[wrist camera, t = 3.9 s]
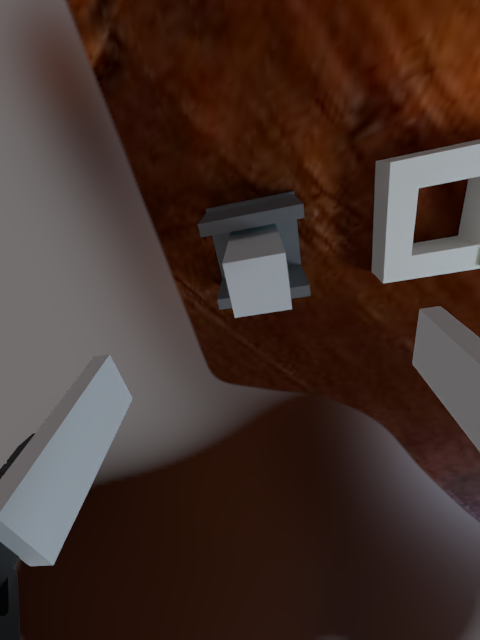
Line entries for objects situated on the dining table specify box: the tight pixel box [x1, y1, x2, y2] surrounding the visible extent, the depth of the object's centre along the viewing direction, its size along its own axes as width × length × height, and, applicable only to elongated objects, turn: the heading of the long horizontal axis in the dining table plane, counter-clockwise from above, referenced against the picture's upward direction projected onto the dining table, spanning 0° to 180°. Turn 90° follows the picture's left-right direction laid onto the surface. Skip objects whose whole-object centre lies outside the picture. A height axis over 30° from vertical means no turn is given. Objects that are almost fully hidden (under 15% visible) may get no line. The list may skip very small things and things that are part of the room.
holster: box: [198, 191, 311, 310], centre depth 26 cm, size 8×8×6 cm
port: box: [372, 139, 480, 283], centre depth 25 cm, size 10×10×3 cm
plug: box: [222, 223, 292, 318], centre depth 23 cm, size 4×4×10 cm
